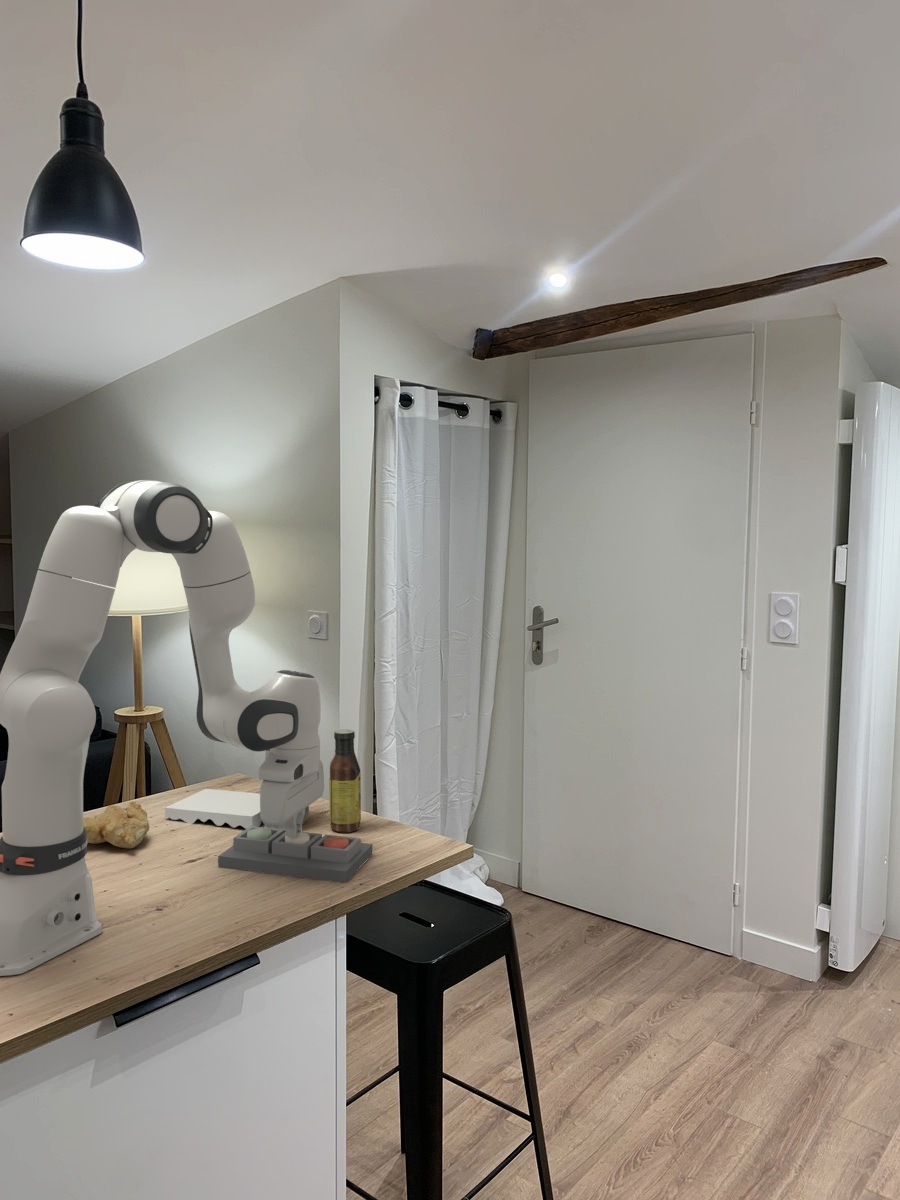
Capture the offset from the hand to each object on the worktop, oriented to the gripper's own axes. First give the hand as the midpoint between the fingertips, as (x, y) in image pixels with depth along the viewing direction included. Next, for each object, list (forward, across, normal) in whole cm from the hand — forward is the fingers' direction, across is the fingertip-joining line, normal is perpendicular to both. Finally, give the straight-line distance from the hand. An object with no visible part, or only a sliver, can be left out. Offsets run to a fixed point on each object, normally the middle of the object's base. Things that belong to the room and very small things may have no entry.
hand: (293, 835), depth 166 cm
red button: (+3, 0, +8) cm, 8 cm away
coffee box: (+5, -18, -10) cm, 21 cm away
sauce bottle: (+5, -19, +2) cm, 20 cm away
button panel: (+5, 0, 0) cm, 5 cm away
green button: (+3, 0, -7) cm, 7 cm away
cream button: (+2, 0, 0) cm, 3 cm away
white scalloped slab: (+6, -20, -24) cm, 32 cm away
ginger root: (+5, +1, -36) cm, 36 cm away
